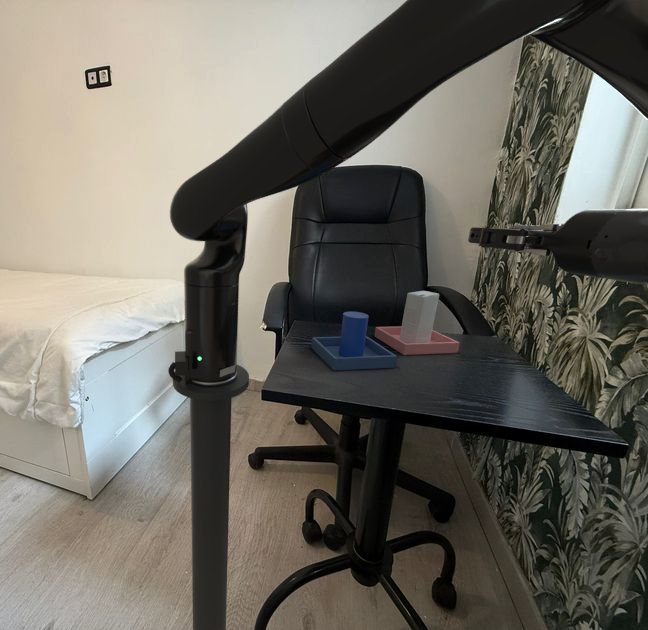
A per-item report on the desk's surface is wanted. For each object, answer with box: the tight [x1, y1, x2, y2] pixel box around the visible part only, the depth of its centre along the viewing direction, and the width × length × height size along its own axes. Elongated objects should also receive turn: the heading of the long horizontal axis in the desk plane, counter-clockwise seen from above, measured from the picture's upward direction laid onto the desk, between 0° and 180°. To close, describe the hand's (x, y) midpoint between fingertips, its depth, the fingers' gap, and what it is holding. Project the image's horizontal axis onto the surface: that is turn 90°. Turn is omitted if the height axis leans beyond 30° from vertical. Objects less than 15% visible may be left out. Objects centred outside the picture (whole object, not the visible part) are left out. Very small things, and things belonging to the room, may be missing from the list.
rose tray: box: [374, 325, 460, 356], centre depth 85 cm, size 13×12×2 cm
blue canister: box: [339, 311, 370, 357], centre depth 75 cm, size 5×5×9 cm
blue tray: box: [310, 335, 398, 371], centre depth 76 cm, size 13×12×2 cm
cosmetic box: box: [399, 290, 440, 344], centre depth 83 cm, size 6×4×12 cm
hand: (496, 235), depth 54 cm, fingers open, 8 cm apart
